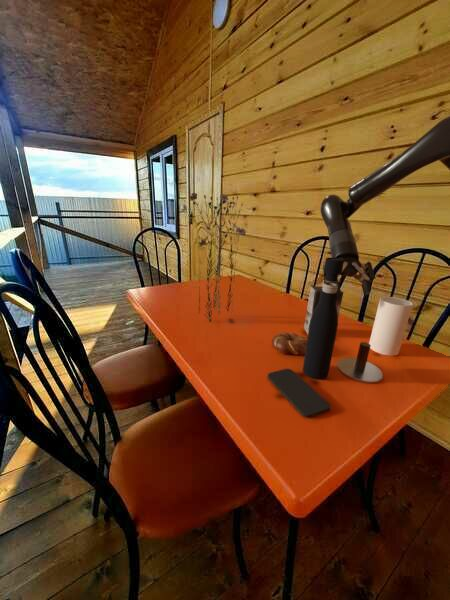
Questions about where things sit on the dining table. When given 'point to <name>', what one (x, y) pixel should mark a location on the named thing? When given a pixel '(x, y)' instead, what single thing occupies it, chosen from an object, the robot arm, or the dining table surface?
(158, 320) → the dining table surface
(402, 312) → the cup
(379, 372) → the lid
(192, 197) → the wildflower
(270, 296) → the dining table surface
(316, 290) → the coffee box
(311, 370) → the dark water bottle
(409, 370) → the dining table surface
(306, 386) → the phone
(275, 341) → the pretzel
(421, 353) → the dining table surface
